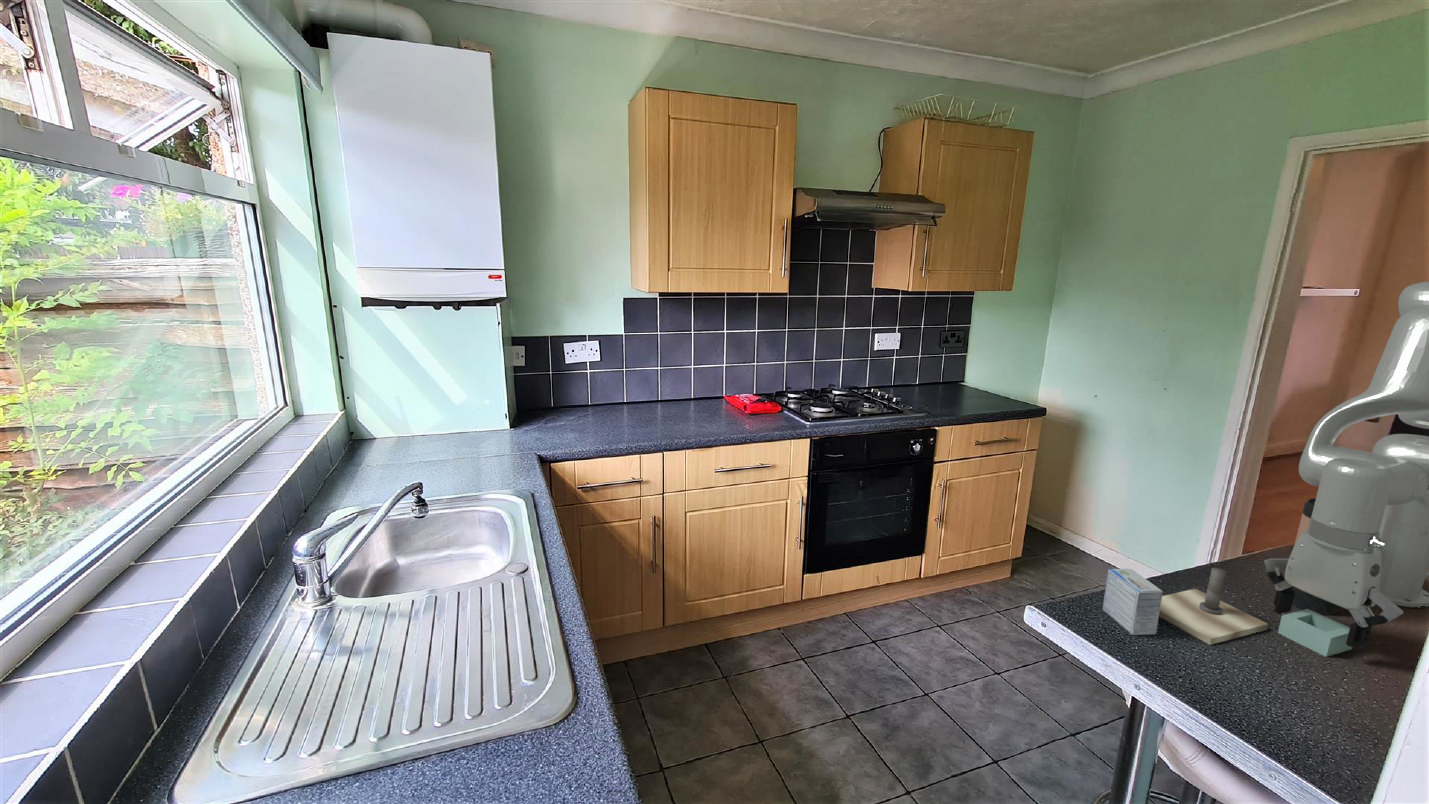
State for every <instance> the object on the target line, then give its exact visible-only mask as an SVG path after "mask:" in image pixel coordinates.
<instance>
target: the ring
mask: <svg viewBox="0 0 1429 804" xmlns="http://www.w3.org/2000/svg"><path fill="white" fill-rule="evenodd" d="M1350 627H1351V626H1348V625H1345V624H1343V623H1340V622H1338V621H1336V620H1333V619H1331V618H1330V617H1327V616H1326V615H1325V616H1324V615H1323V614H1318V613H1316V612H1314V611H1311V610H1309V609H1305V610H1303V609H1301V610H1298V611H1294V612H1290V613H1289V612H1288V613H1286V614H1283V615H1281V618H1280V623H1279V626H1278V630H1277V631H1278V632H1277V634H1278V633H1279V635H1280V634H1281V635H1280V636H1282V637H1284V636H1285V638H1286V639H1289V640H1291V641H1292V642H1295V643H1296V644H1299V645H1300V646H1303V647H1305V648H1308V649H1309V650H1311V651H1313V652H1315V653H1317V654H1319V655H1322V656H1323V657H1324V658H1325V657H1326V658H1327V657H1330V656H1334V655H1337V654H1340V653H1343V652H1346V651H1347V652H1348V651H1351V650H1353V648H1354V647H1350V646H1348V645H1347V644H1346V641H1347V637H1348V634H1349V630H1350Z"/></svg>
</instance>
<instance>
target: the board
mask: <svg viewBox="0 0 1429 804" xmlns="http://www.w3.org/2000/svg"><path fill="white" fill-rule="evenodd" d="M1226 575H1227V571H1226V570H1224V569H1223V568H1219V567H1211V570H1210V575H1209V580H1208V585H1207V589H1206V593H1205V592H1204V591H1201V590H1199V589H1197V588H1191V589H1188V590H1183V591H1179V592H1174V593H1171V594H1165V595H1162V600H1161V606H1160V612H1159V617H1160V618H1161V619H1163V620H1164V621H1166V622H1168V623H1169V624H1172V625H1173V626H1175V627H1177V628H1179V629H1181V630H1182V631H1184V632H1185V633H1187V634H1189V635H1191V636H1193V637H1194V638H1196V639H1198V640H1200V641H1202V642H1204V643H1205V644H1207V645H1209V646H1211V645H1215V644H1218V643H1223V642H1225V641H1230V640H1234V639H1238V638H1241V637H1245V636H1249V635H1253V634H1256V632H1257V633H1260V632H1264V631H1267V630H1268V627H1269V623H1267V622H1265V621H1263V620H1261V619H1259V618H1257V617H1255V616H1253V615H1251V614H1249V613H1247V612H1244V611H1243V610H1240V609H1239V608H1236V607H1234V606H1232V605H1230V604H1228V603H1227V602H1224V601H1222V600H1221V598H1222V593H1223V590H1224V584H1225V580H1226ZM1252 633H1253V634H1252Z"/></svg>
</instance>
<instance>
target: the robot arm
mask: <svg viewBox="0 0 1429 804" xmlns="http://www.w3.org/2000/svg"><path fill="white" fill-rule="evenodd" d="M1398 297H1399V298H1398V304H1397V305H1398V312H1399V316H1400V317H1399V318H1397V320H1396V322H1395V324H1394V326H1393V327H1392V330H1391V332H1390V335H1389V338H1388V340H1387V342H1386V346H1385V348H1384V350H1383V352H1382V355H1381V357H1380V359H1379V362H1378V364H1377V367H1376V369H1375V372H1374V374H1373V376H1372V379H1371V381H1370V384H1369V386H1368V388H1367V389H1366V390H1365V391H1364V392H1362V393H1361V394H1358V395H1356V396H1354V397H1352V398H1350V399H1348V400H1346V401H1343V402H1342V403H1340V404H1338V405H1337V406H1335V407H1333V408H1332V409H1331V410H1329V411H1328V412H1327V413H1326V414H1325V415H1323V416H1322V417H1321V418H1320V419H1319V420H1318V422H1317V423H1316V424H1315V425H1314V427H1313V428H1312V430H1311V432H1310V434H1309V437H1308V439H1307V442H1306V444H1305V447H1304V448H1303V451H1302V454H1301V456H1300V459H1299V463H1298V474H1299V476H1300V477H1301V479H1302V480H1303V481H1304V482H1305V483H1307V484H1309V485H1312V486H1315V487H1318V489H1317V493H1316V497H1315V498H1316V501H1315V504H1314V508H1313V512H1312V516H1311V520H1310V524H1309V528H1308V531H1304V532H1303V533H1302V534H1301V536H1300V537H1299V539H1298V541H1297V542H1296V544H1295V543H1294V544H1295V546H1294V545H1293V549H1292V550H1291V554H1290V555H1289V558H1268V559H1264V560H1263V562H1264V563H1263V564H1264V566H1265V569H1266V571H1267V576H1268V578H1269V579H1270V581H1271V582H1272V584H1273V589H1274V590H1275V591H1276V593H1275V596H1274V601H1273V605H1274V610H1273V611H1274V613H1276V614H1284V613H1289V612H1290V611H1291V610H1292V607H1293V605H1292V603H1293V599H1294V595H1295V592H1294V590H1292V588H1294V587H1295V588H1297V589H1299V590H1302V591H1304V592H1306V593H1309V594H1311V595H1314V596H1316V597H1318V598H1321V599H1323V600H1326V601H1328V602H1330V603H1333V604H1335V605H1338V606H1339V607H1341V608H1343V609H1346V610H1348V611H1349V613H1350V614H1351V616H1352V618H1353V619H1354V620H1355V622H1353V623H1351V624H1350V626H1349V627H1350V630H1349V634H1348V637H1347V641H1346V644H1347V645H1348V646H1350V647H1353V648H1355V647H1358V646H1362V645H1366V644H1367V643H1368V641H1369V638H1370V635H1371V632H1372V628H1373V627H1374V626H1380V625H1383V624H1387V623H1388V624H1389V623H1391V622H1392V621H1393V620H1395V619H1397V618H1399V617H1400V616H1403V614H1404V611H1403V609H1401V608H1400V607H1406V608H1415V607H1417V606H1419V605H1424V606H1425V607H1424V608H1427V607H1429V592H1428V591H1426V590H1425V589H1423V586H1424V583H1425V580H1426V579H1428V578H1429V436H1427V435H1421V434H1413V433H1412V434H1410V433H1393V434H1389V435H1385V436H1383V437H1382V438H1379V440H1377V441H1376V443H1375V444H1374V445H1373V448H1372V452H1369V451H1363V450H1357V449H1352V448H1348V447H1342V446H1335V442H1336V440H1337V439H1338V437H1339V436H1340V435H1341V434H1342V432H1344V431H1345V430H1346V429H1348V428H1349V427H1351V426H1353V425H1355V424H1358V423H1360V422H1364V421H1367V420H1370V419H1375V418H1380V417H1385V416H1392V415H1393V416H1394V415H1397V416H1398V418H1399V420H1400V421H1402V423H1404V424H1406V425H1409V426H1412V427H1417V428H1421V429H1425V430H1426V429H1427V430H1429V281H1421V282H1417V283H1413V284H1410V285H1408V286H1406V287H1405V288H1404V289H1403V290H1402V291H1401V293H1400V295H1399V296H1398ZM1280 567H1285V569H1284V570H1285V571H1284V575H1283V574H1282V573H1281V571H1280ZM1374 606H1378V607H1379V608H1381V610H1382V612H1380V613H1379V614H1378V615H1375V614H1374V613H1373V611H1372V610H1371V608H1372V607H1374ZM1417 608H1418V607H1417Z"/></svg>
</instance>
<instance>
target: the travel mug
mask: <svg viewBox="0 0 1429 804" xmlns="http://www.w3.org/2000/svg"><path fill="white" fill-rule="evenodd" d="M1315 501H1316V497H1315V498H1314V497H1313V498H1309V499H1308V500H1307V501H1306V502H1304V505H1303V506H1304V507H1303V509H1302V513H1301V517H1300V522H1299V526H1298V529H1297V532H1296V533H1297V534H1296V538H1295V541H1294V544H1293V547H1294V546H1295V544H1296V542H1297V541H1298V539H1299V537H1300V536H1301V534H1302V533H1303V532H1304V531H1308V528H1309V524H1310V520H1311V516H1312V512H1313V508H1314V504H1315ZM1292 590H1294V592H1295V595H1294V599H1293V603H1292V606H1294V607H1296V608H1299V609H1301V610H1305V609H1309V610H1311V611H1314V612H1316V613H1318V614H1320V615H1323V616H1324V615H1325V616H1332V615H1336V614H1337V612H1338V611H1339V607H1340V606H1338V605H1335V604H1333V603H1330V602H1328V601H1326V600H1323V599H1321V598H1318V597H1316V596H1314V595H1311V594H1309V593H1306V592H1304V591H1302V590H1299V589H1297V588H1295V587H1294V588H1292Z"/></svg>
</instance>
